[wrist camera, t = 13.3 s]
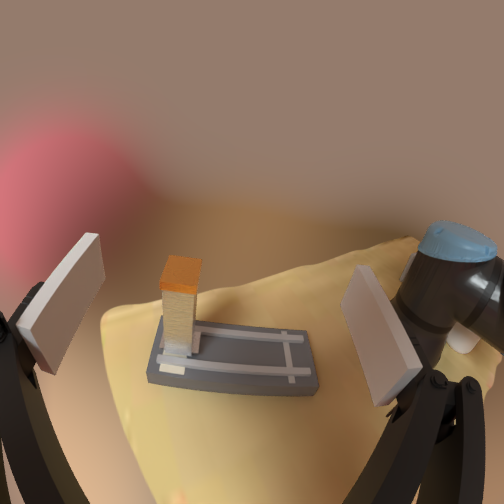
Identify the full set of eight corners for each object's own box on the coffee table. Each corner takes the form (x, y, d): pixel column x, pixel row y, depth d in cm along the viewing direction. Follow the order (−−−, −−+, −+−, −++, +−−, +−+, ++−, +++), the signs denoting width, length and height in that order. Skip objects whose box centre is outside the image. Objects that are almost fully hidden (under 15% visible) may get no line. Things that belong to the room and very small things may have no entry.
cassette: (417, 270, 69) (428, 247, 66) (422, 274, 68) (433, 250, 64) (397, 279, 63) (409, 252, 60) (402, 283, 62) (415, 257, 58)
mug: (425, 323, 49) (449, 284, 44) (441, 314, 53) (463, 277, 48) (462, 360, 40) (491, 321, 35) (475, 346, 44) (501, 310, 39)
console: (301, 341, 42) (307, 327, 40) (313, 396, 33) (320, 383, 32) (162, 326, 39) (161, 312, 38) (148, 382, 31) (145, 369, 29)
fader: (201, 330, 36) (207, 259, 31) (197, 358, 32) (203, 287, 26) (165, 324, 36) (164, 254, 30) (158, 352, 31) (153, 280, 26)
